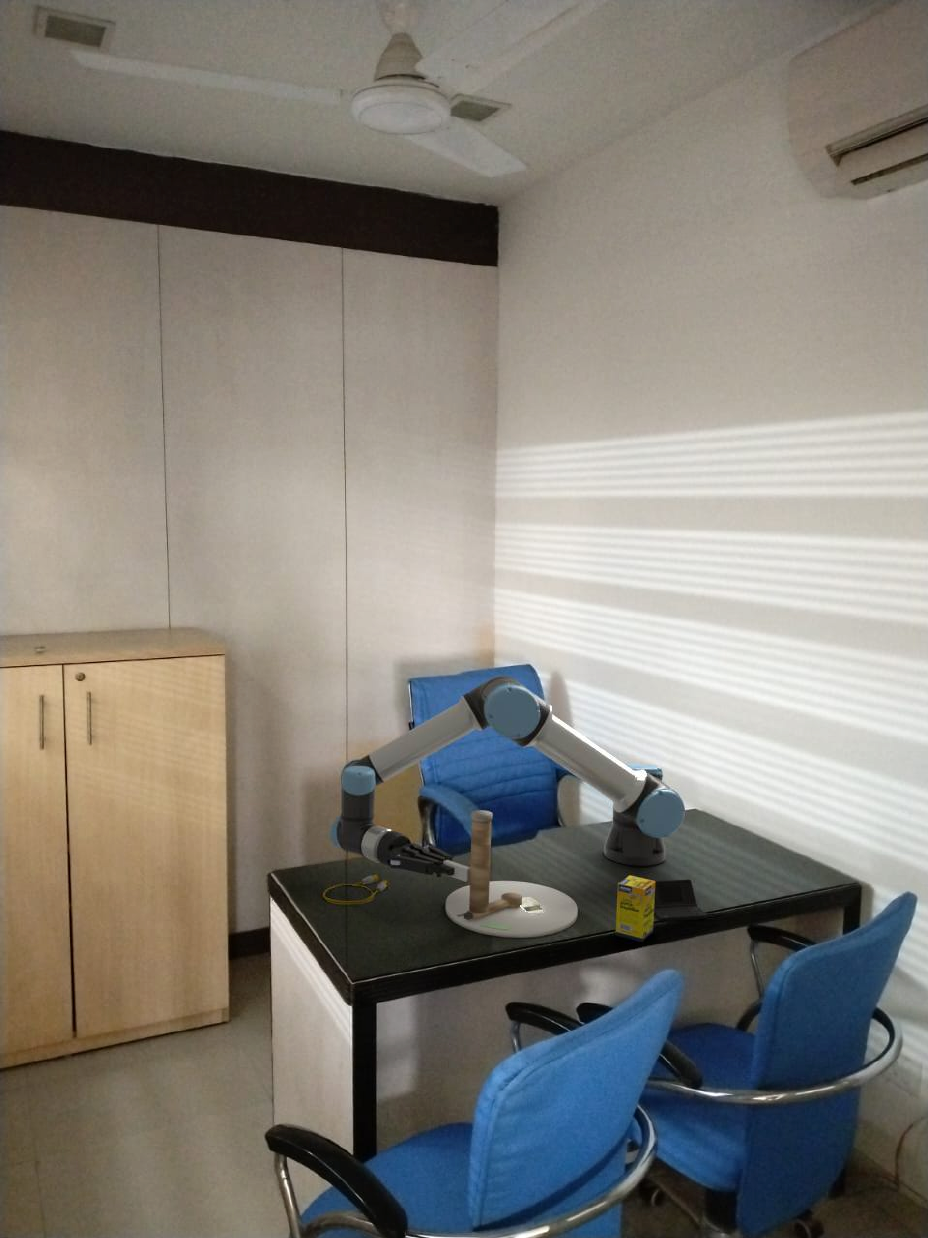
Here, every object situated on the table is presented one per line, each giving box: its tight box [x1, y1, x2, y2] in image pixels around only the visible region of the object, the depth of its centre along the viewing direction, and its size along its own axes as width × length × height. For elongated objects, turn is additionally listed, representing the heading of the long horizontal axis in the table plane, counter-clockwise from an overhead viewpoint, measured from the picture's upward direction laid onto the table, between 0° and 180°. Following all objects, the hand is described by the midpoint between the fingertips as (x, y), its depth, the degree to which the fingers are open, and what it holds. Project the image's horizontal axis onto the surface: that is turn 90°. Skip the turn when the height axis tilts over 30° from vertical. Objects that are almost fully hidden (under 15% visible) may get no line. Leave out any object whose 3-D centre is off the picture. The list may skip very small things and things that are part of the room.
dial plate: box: [445, 880, 579, 939], centre depth 213 cm, size 28×28×1 cm
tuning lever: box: [464, 809, 522, 920], centre depth 207 cm, size 16×4×21 cm, turn 135°
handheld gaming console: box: [654, 879, 708, 923], centre depth 214 cm, size 12×7×10 cm
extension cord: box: [322, 874, 390, 906], centre depth 220 cm, size 12×16×2 cm
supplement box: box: [614, 875, 656, 943], centre depth 202 cm, size 6×6×11 cm
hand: (468, 875), depth 205 cm, fingers closed
